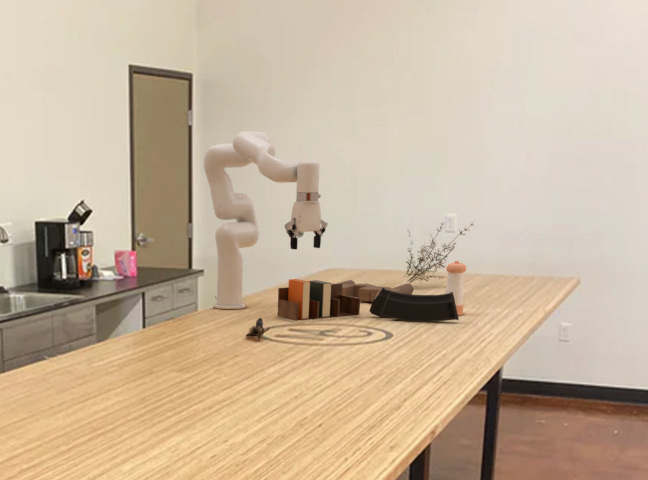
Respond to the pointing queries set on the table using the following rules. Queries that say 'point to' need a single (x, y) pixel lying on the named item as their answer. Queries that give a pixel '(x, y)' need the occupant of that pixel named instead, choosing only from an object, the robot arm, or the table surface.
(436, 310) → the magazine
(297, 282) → the orange book
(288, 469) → the table surface
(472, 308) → the table surface
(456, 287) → the pepper shaker
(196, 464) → the table surface
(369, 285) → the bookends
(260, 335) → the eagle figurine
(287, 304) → the book rack
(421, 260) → the dried plant
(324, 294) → the green book
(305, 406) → the table surface
